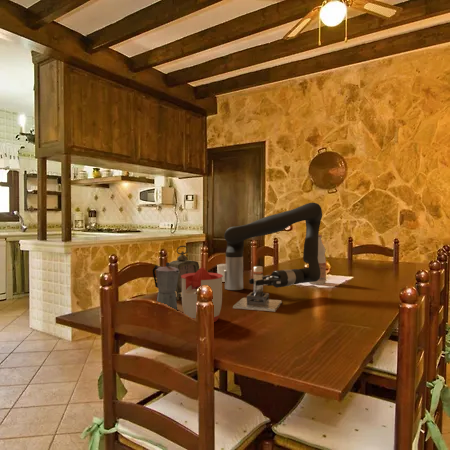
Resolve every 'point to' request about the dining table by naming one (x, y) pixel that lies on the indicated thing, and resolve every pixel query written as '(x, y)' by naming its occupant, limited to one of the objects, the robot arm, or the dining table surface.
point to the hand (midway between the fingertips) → (253, 282)
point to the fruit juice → (321, 262)
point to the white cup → (221, 270)
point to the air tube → (258, 276)
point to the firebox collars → (258, 303)
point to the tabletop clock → (183, 268)
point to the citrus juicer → (193, 283)
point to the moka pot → (166, 284)
